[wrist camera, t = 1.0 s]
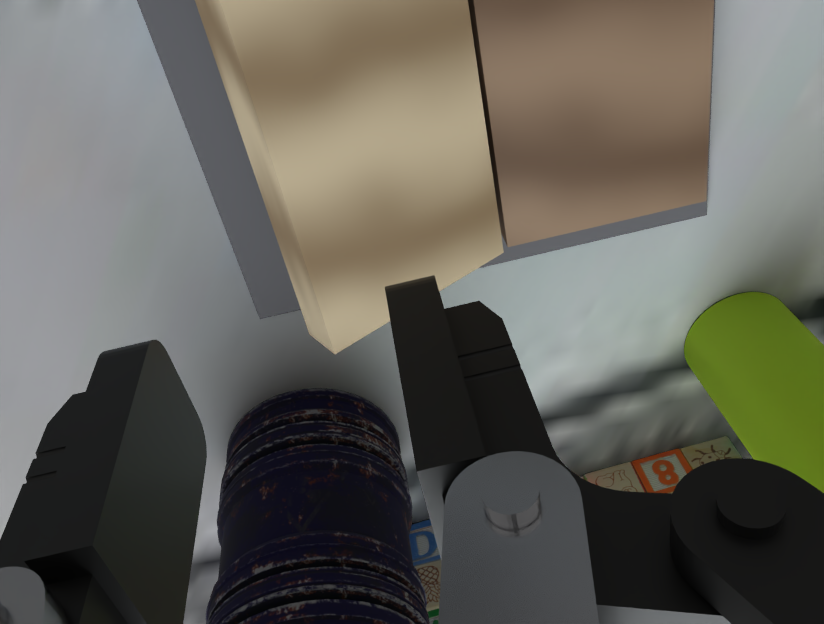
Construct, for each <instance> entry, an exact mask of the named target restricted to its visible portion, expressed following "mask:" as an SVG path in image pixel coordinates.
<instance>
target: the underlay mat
mask: <svg viewBox="0 0 824 624" xmlns="http://www.w3.org/2000/svg"><path fill="white" fill-rule="evenodd" d="M137 1H138V4H139V7H140V9H141V12H142V14H143V17H144V19H145V22H146V25H147V27H148V30H149V32H150V35H151V38H152V40H153V43H154V45H155V48H156V51H157V53H158V56H159V58H160V61H161V64H162V66H163V69H164V71H165V74H166V76H167V79H168V82H169V84H170V87H171V89H172V92H173V95H174V97H175V100H176V102H177V105H178V108H179V110H180V113H181V115H182V118H183V121H184V123H185V126H186V128H187V131H188V134H189V136H190V139H191V141H192V144H193V146H194V149H195V152H196V154H197V157H198V159H199V162H200V165H201V167H202V170H203V172H204V175H205V178H206V180H207V183H208V185H209V188H210V191H211V193H212V196H213V198H214V201H215V203H216V206H217V209H218V211H219V214H220V216H221V219H222V222H223V224H224V227H225V229H226V232H227V235H228V237H229V240H230V242H231V245H232V248H233V250H234V253H235V255H236V258H237V261H238V263H239V266H240V268H241V271H242V273H243V276H244V279H245V281H246V284H247V286H248V289H249V292H250V294H251V297H252V299H253V302H254V305H255V307H256V310H257V312H258V315H259V318H260V319H262V318H266V317H271V316H275V315H279V314H284V313H288V312H292V311H296V310H301V308H300V305H299V302H298V299H297V297H296V294H295V291H294V288H293V285H292V282H291V279H290V276H289V273H288V270H287V267H286V265H285V262H284V259H283V256H282V253H281V250H280V247H279V244H278V241H277V238H276V235H275V232H274V230H273V227H272V224H271V221H270V218H269V215H268V212H267V209H266V206H265V203H264V200H263V198H262V195H261V192H260V189H259V186H258V183H257V180H256V177H255V174H254V171H253V168H252V166H251V163H250V160H249V157H248V154H247V151H246V148H245V145H244V142H243V139H242V136H241V133H240V131H239V128H238V125H237V122H236V119H235V116H234V113H233V110H232V107H231V104H230V101H229V99H228V96H227V93H226V90H225V87H224V84H223V81H222V78H221V75H220V72H219V69H218V67H217V64H216V61H215V58H214V55H213V52H212V49H211V46H210V43H209V40H208V37H207V34H206V32H205V29H204V26H203V23H202V20H201V17H200V14H199V11H198V8H197V5H196V2H195V0H137ZM714 17H715V0H714V15H713V41H712V67H711V93H712V68H713V42H714ZM711 93H710V119H711ZM710 119H709V144H710ZM708 170H709V145H708ZM707 195H708V171H707ZM705 215H707V197H706V201H704V202H700V203H696V204H692V205H687V206H683V207H679V208H674V209H670V210H666V211H661V212H657V213H653V214H649V215H644V216H640V217H636V218H631V219H627V220H623V221H619V222H614V223H610V224H606V225H601V226H597V227H593V228H588V229H584V230H580V231H576V232H571V233H567V234H563V235H558V236H554V237H550V238H546V239H541V240H537V241H533V242H528V243H524V244H520V245H515V246H511V247H507V245H506V243H505V240H504V238H503V236H502V234H501V236H502V243H503V250H504V253H502V254H501V255H499V256H497V257H496V258H494V259H492V260H491V261H489V262H487V263H486V264H484V265H482V266H481V267H485V266H490V265H494V264H498V263H503V262H507V261H511V260H516V259H520V258H524V257H528V256H533V255H537V254H541V253H546V252H550V251H554V250H559V249H563V248H567V247H571V246H576V245H580V244H584V243H589V242H593V241H597V240H601V239H606V238H610V237H614V236H619V235H623V234H627V233H632V232H636V231H640V230H644V229H649V228H653V227H657V226H662V225H666V224H670V223H675V222H679V221H683V220H687V219H692V218H696V217H700V216H705ZM481 267H479V268H481Z"/></svg>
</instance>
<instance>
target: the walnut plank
mask: <svg viewBox="0 0 824 624" xmlns="http://www.w3.org/2000/svg"><path fill="white" fill-rule="evenodd" d="M468 5H469V12H470V19H471V26H472V33H473V40H474V47H475V54H476V61H477V68H478V75H479V82H480V89H481V96H482V103H483V110H484V117H485V124H486V131H487V138H488V145H489V152H490V159H491V166H492V173H493V180H494V187H495V194H496V201H497V208H498V215H499V222H500V229H501V234H502V236H503V238H504V240H505V243H506V245H507V247H511V246H515V245H520V244H524V243H528V242H533V241H537V240H541V239H546V238H550V237H554V236H558V235H563V234H567V233H571V232H576V231H580V230H584V229H588V228H593V227H597V226H601V225H606V224H610V223H614V222H619V221H623V220H627V219H631V218H636V217H640V216H644V215H649V214H653V213H657V212H661V211H666V210H670V209H674V208H679V207H683V206H687V205H692V204H696V203H700V202H704V201H706V197H707V171H708V145H709V119H710V93H711V67H712V41H713V15H714V0H468Z"/></svg>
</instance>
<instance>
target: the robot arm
mask: <svg viewBox="0 0 824 624" xmlns="http://www.w3.org/2000/svg"><path fill="white" fill-rule="evenodd" d="M385 293H386V298H387V304H388V310H389V315H390V321H391V327H392V333H393V338H394V344H395V350H396V355H397V361H398V367H399V373H400V378H401V384H402V390H403V396H404V401H405V407H406V413H407V418H408V424H409V430H410V436H411V441H412V447H413V453H414V458H415V464H416V470H417V474H418V478H419V481H420V485H421V489H422V492H423V496H424V499H425V503H426V507H427V510H428V514H429V518H430V521H431V525H432V528H433V532H434V536H435V539H436V543H437V547H438V550H439V554H440V558H441V581H440V601H439V621H438V624H824V493H823V492H821V491H820V490H818V489H817V488H816V487H814V486H813V485H811V484H810V483H808V482H807V481H805V480H804V479H802V478H801V477H799V476H797V475H796V474H794V473H792V472H791V471H789V470H786V469H784V468H782V467H780V466H777V465H774V464H771V463H767V462H764V461H759V460H753V459H743V458H731V459H721V460H716V461H711V462H709V463H706V464H703V465H700V466H699V467H697V468H695V469H693V470H691V471H690V472H689V473H687V474H686V475H685V476H684V477H683V478H682V479H681V480H680V481H679V483H678V484H677V485H676V487H675V489H674V491H673V493H650V492H629V491H619V490H613V489H609V488H604V487H601V486H598V485H595V484H593V483H590V482H588V481H586V480H584V479H582V478H580V477H579V476H577V475H576V474H574V473H573V472H572V471H570V470H569V469H568V468H567V467H566V466H565V465H564V464H563V463H562V462H561V460H560V459H559V458H558V457H557V455H556V453H555V451H554V449H553V447H552V445H551V442H550V439H549V437H548V434H547V432H546V429H545V427H544V424H543V422H542V419H541V416H540V414H539V411H538V409H537V406H536V404H535V401H534V399H533V396H532V394H531V391H530V388H529V386H528V383H527V381H526V378H525V376H524V373H523V371H522V370H521V367H520V363H519V360H518V358H517V355H516V353H515V350H514V349H513V347H512V343H511V340H510V338H509V335H508V332H507V330H506V327H505V325H504V322H503V320H502V318H500V317H499V316H498V315H497V314H495V313H494V312H493V311H491V310H490V309H489V308H488V307H486V306H485V305H484V304H482V303H481V302H480V301H477V302H472V303H468V304H464V305H459V306H455V307H451V308H446V309H444V307H443V303H442V300H441V296H440V293H439V289H438V286H437V282H436V279H435V276H434V275H432V276H428V277H424V278H419V279H415V280H411V281H407V282H402V283H398V284H394V285H389V286H385ZM36 455H37V458H36V459H33V461H32V463H31V466H30V468H29V471H28V473H27V476H26V480H27V483H26V484H23V485H22V488H21V490H20V493H19V495H18V498H17V500H16V503H15V505H14V508H13V510H12V512H11V515H10V517H9V520H8V522H7V525H6V527H5V530H4V532H3V534H2V537H1V539H0V624H183V620H184V613H185V606H186V599H187V592H188V585H189V578H190V571H191V564H192V557H193V550H194V543H195V536H196V529H197V522H198V515H199V508H200V501H201V494H202V487H203V480H204V473H205V466H206V458H207V451H206V441H205V435H204V431H203V427H202V424H201V421H200V418H199V416H198V414H197V412H196V410H195V408H194V406H193V404H192V402H191V400H190V398H189V396H188V394H187V392H186V390H185V388H184V385H183V383H182V381H181V379H180V377H179V375H178V373H177V371H176V369H175V367H174V365H173V363H172V361H171V359H170V357H169V355H168V353H167V351H166V349H165V348H164V346H163V345H162V344H161V343H160V342H159V341H157V340H151V341H147V342H142V343H138V344H134V345H130V346H125V347H121V348H117V349H112V350H108V351H104V352H102V353H101V354H100V355H99V357H98V360H97V362H96V365H95V368H94V371H93V373H92V376H91V379H90V381H89V384H88V387H87V390H86V392H83V393H78V394H74V395H72V396H71V397H70V398H69V400H68V401H67V402H66V403H65V404H64V405H63V407H62V408H61V409H60V410H59V411H58V412H57V413H56V415H55V416H54V417H53V418H52V419H51V420H50V422H49V423H48V424H47V427H46V429H45V431H44V434H43V436H42V439H41V441H40V444H39V446H38V449H37V451H36Z"/></svg>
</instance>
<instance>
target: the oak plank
mask: <svg viewBox="0 0 824 624" xmlns="http://www.w3.org/2000/svg"><path fill="white" fill-rule="evenodd" d="M195 2H196V5H197V8H198V11H199V14H200V17H201V20H202V23H203V26H204V29H205V32H206V34H207V37H208V40H209V43H210V46H211V49H212V52H213V55H214V58H215V61H216V64H217V67H218V69H219V72H220V75H221V78H222V81H223V84H224V87H225V90H226V93H227V96H228V99H229V101H230V104H231V107H232V110H233V113H234V116H235V119H236V122H237V125H238V128H239V131H240V133H241V136H242V139H243V142H244V145H245V148H246V151H247V154H248V157H249V160H250V163H251V166H252V168H253V171H254V174H255V177H256V180H257V183H258V186H259V189H260V192H261V195H262V198H263V200H264V203H265V206H266V209H267V212H268V215H269V218H270V221H271V224H272V227H273V230H274V232H275V235H276V238H277V241H278V244H279V247H280V250H281V253H282V256H283V259H284V262H285V265H286V267H287V270H288V273H289V276H290V279H291V282H292V285H293V288H294V291H295V294H296V297H297V299H298V302H299V305H300V308H301V311H302V314H303V317H304V320H305V323H306V326H307V329H308V331H309V334H310V335H311V336H312V337H313V338H315V339H316V340H317V341H318V342H320V343H321V344H322V345H323V346H325V347H326V348H327V349H329V350H330V351H331V352H332V353H334V354H337V353H338V352H340V351H342V350H343V349H345V348H347V347H348V346H350V345H351V344H353V343H355V342H356V341H358V340H360V339H361V338H363V337H365V336H366V335H368V334H370V333H371V332H373V331H375V330H376V329H378V328H380V327H381V326H383V325H385V324H386V323H388V322H390V315H389V310H388V304H387V298H386V293H385V286H389V285H394V284H398V283H402V282H407V281H411V280H415V279H419V278H424V277H428V276H432V275H434V276H435V279H436V282H437V286H438V289H439V291H441V290H443V289H444V288H446V287H448V286H449V285H451V284H452V283H454V282H456V281H457V280H459V279H461V278H462V277H464V276H466V275H467V274H469V273H471V272H472V271H474V270H476V269H477V268H479V267H481V266H482V265H484V264H486V263H487V262H489V261H491V260H492V259H494V258H496V257H497V256H499V255H501V254H502V253H504V250H503V243H502V236H501V229H500V222H499V215H498V208H497V201H496V194H495V187H494V180H493V173H492V166H491V159H490V152H489V145H488V138H487V131H486V124H485V117H484V110H483V103H482V96H481V89H480V82H479V75H478V68H477V61H476V54H475V47H474V40H473V33H472V26H471V19H470V12H469V5H468V0H195Z"/></svg>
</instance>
